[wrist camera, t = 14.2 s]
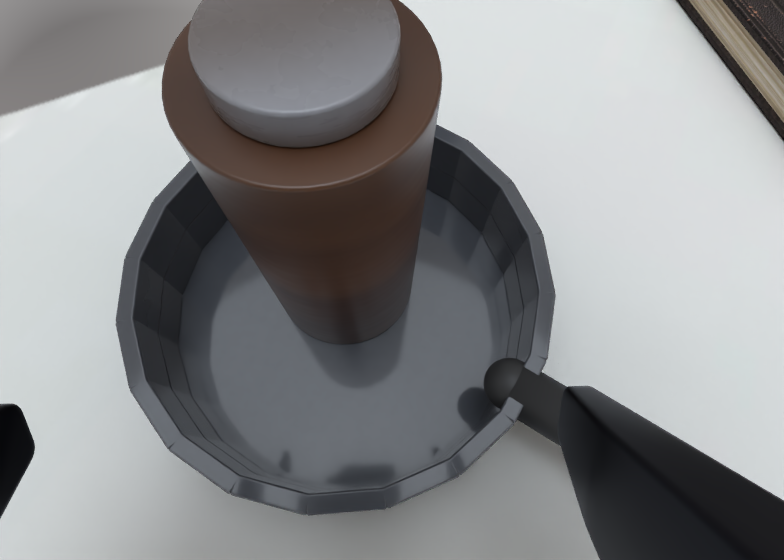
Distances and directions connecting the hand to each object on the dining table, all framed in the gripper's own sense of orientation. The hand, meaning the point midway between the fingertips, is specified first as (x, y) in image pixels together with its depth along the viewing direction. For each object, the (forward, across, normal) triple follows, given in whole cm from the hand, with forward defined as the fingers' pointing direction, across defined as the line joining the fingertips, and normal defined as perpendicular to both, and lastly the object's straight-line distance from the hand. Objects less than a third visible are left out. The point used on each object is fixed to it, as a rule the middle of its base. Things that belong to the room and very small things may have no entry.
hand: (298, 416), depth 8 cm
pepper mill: (+13, 0, +3) cm, 13 cm away
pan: (+12, 0, +4) cm, 13 cm away
